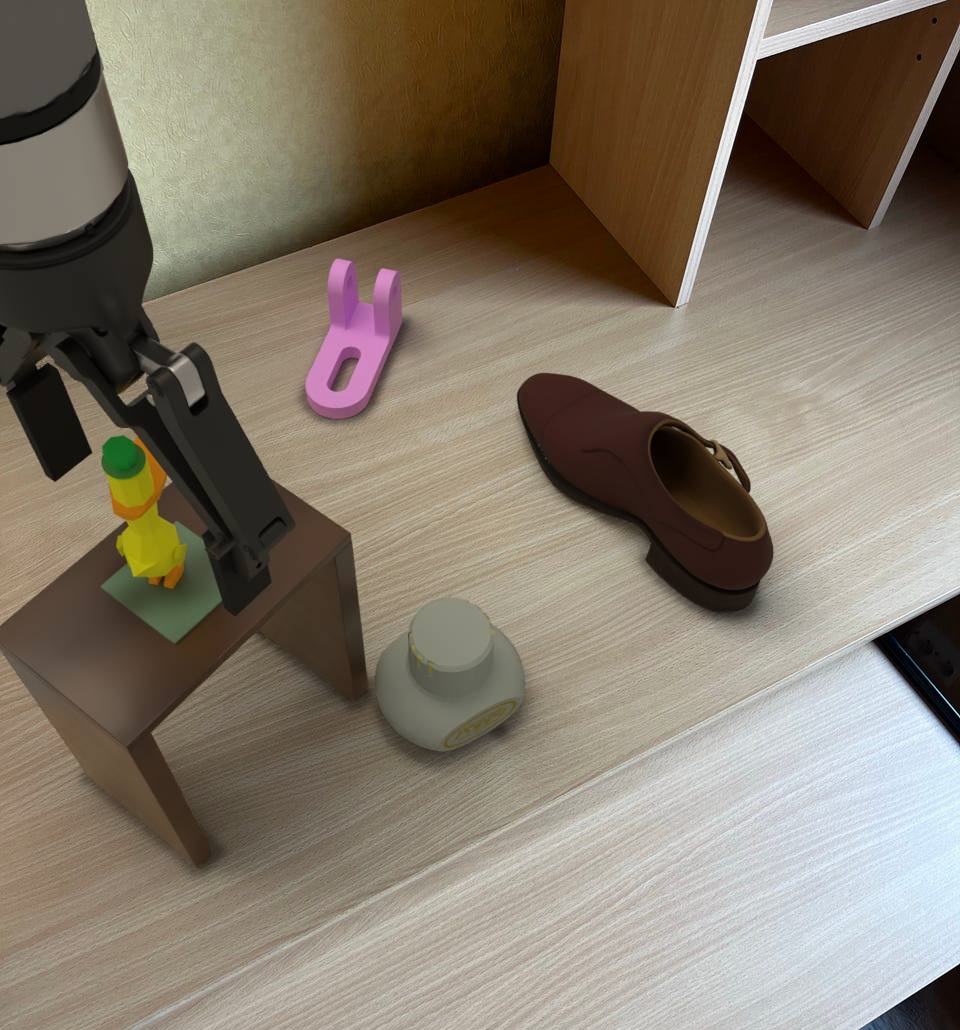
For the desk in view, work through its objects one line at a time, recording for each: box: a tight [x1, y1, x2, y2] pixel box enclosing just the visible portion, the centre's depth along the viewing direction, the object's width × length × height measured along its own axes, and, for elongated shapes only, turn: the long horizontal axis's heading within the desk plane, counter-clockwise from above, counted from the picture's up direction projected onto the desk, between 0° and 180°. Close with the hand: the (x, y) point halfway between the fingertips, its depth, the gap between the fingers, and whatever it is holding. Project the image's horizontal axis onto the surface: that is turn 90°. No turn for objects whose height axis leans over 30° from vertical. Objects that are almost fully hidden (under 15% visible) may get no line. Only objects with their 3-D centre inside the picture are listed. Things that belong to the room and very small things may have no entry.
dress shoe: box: [516, 372, 775, 613], centre depth 87 cm, size 9×28×12 cm, turn 38°
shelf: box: [0, 477, 370, 869], centre depth 72 cm, size 11×18×20 cm, turn 142°
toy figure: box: [100, 434, 187, 589], centre depth 58 cm, size 7×4×12 cm, turn 171°
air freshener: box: [374, 597, 526, 753], centre depth 78 cm, size 11×8×10 cm
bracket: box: [304, 257, 403, 420], centre depth 96 cm, size 13×6×7 cm, turn 165°
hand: (156, 528), depth 59 cm, fingers open, 13 cm apart
